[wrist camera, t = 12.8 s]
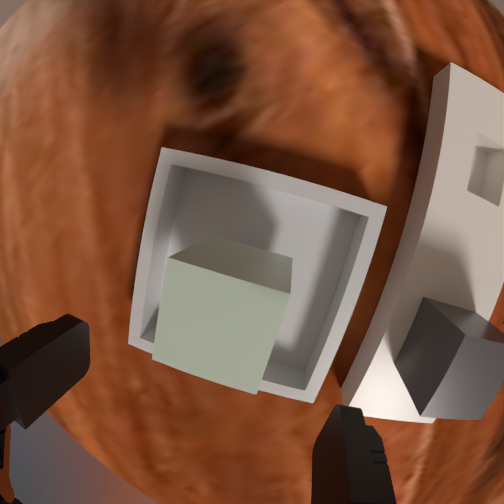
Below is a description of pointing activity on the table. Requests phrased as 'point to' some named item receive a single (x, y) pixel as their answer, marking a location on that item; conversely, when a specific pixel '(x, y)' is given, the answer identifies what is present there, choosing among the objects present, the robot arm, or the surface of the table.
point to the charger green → (222, 311)
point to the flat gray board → (440, 237)
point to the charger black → (451, 361)
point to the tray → (267, 238)
